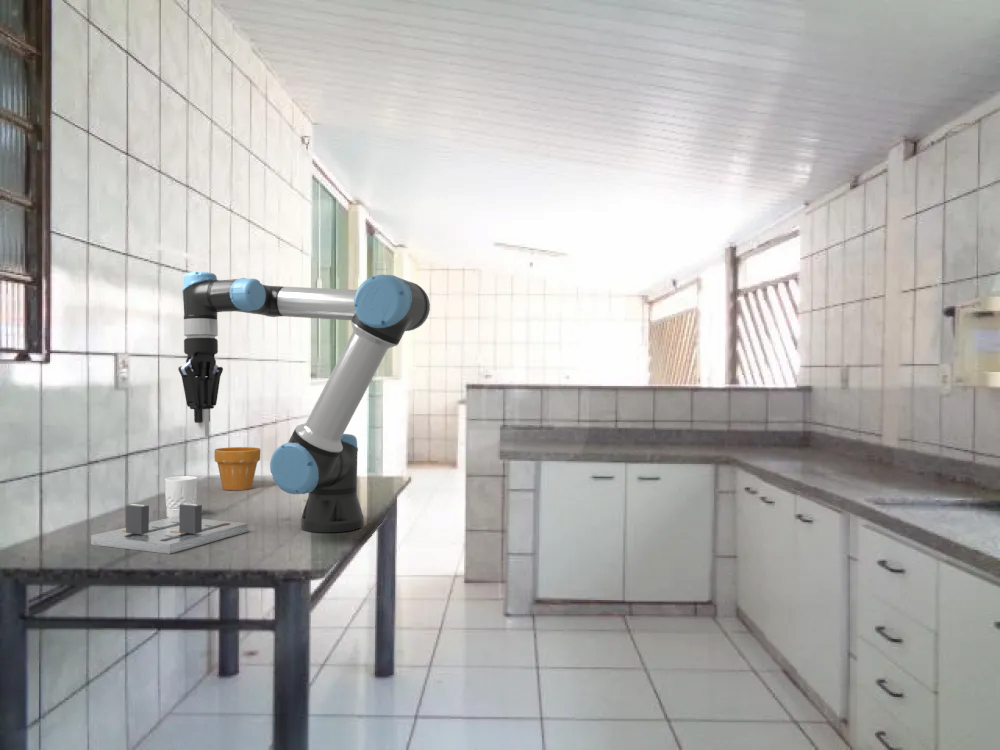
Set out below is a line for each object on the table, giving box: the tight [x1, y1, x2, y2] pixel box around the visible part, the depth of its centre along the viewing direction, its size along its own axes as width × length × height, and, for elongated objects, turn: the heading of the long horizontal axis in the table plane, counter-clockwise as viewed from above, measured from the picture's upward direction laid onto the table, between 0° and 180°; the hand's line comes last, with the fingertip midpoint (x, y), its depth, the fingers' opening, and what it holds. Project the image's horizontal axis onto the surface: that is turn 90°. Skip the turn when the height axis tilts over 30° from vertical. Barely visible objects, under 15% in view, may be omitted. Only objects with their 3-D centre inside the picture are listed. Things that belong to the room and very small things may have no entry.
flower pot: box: [214, 446, 261, 491], centre depth 243 cm, size 14×14×13 cm
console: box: [90, 516, 249, 555], centre depth 169 cm, size 22×24×2 cm
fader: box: [179, 503, 203, 534], centre depth 165 cm, size 4×2×6 cm, turn 69°
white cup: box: [164, 475, 198, 518], centre depth 195 cm, size 8×8×10 cm
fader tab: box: [125, 503, 150, 534], centre depth 163 cm, size 4×2×6 cm, turn 69°
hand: (202, 436), depth 177 cm, fingers closed
